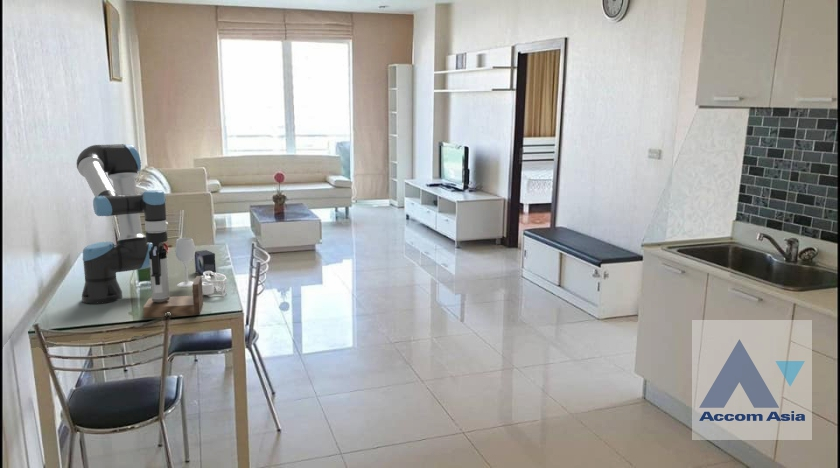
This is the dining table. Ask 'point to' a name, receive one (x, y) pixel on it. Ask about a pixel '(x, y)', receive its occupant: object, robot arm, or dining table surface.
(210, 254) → the small box
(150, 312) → the ledge
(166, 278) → the travel mug
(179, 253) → the wineglass
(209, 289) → the car outline toy
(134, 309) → the dining table surface
